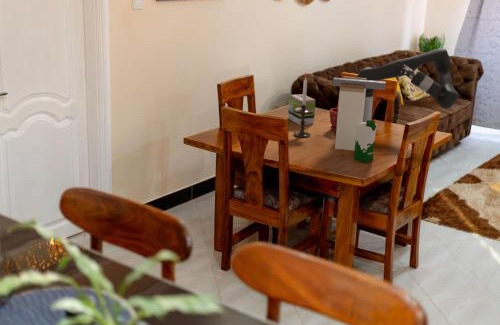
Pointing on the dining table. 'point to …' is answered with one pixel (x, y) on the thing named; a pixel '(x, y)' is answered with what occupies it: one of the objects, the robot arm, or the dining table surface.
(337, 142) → the stand
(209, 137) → the dining table surface
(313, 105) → the tea box
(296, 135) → the candlestick
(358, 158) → the milk carton
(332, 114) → the plant pot
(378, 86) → the steel bar
